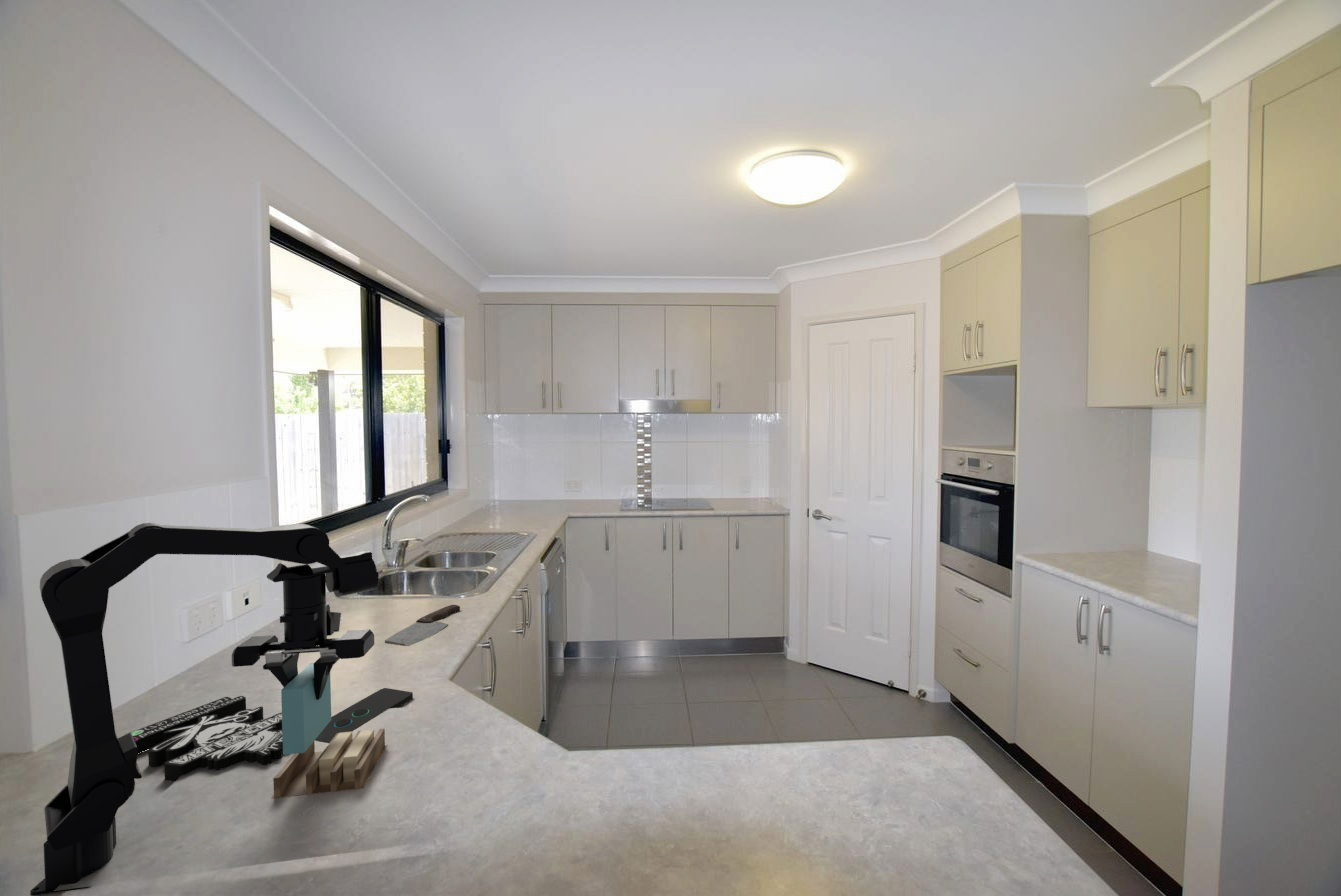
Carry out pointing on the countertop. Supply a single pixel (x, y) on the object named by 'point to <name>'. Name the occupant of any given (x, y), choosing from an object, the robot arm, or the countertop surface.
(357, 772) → the rack
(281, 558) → the robot arm
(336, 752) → the block
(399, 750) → the countertop surface
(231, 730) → the sign
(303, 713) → the block
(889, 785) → the countertop surface
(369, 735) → the offcut front
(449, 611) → the cleaver
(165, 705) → the countertop surface
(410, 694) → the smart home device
